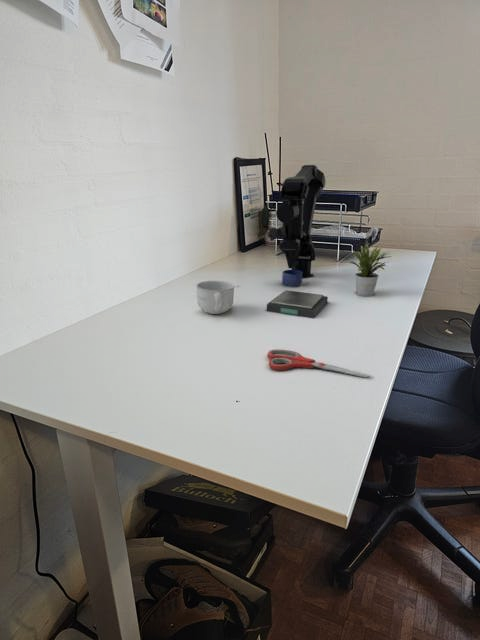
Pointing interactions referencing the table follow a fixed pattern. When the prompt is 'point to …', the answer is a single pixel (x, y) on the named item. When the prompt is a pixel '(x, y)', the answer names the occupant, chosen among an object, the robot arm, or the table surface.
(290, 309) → the scale
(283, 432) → the table surface
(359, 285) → the house plant
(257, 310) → the table surface
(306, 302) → the scale pan
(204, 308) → the teacup
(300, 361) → the scissors
